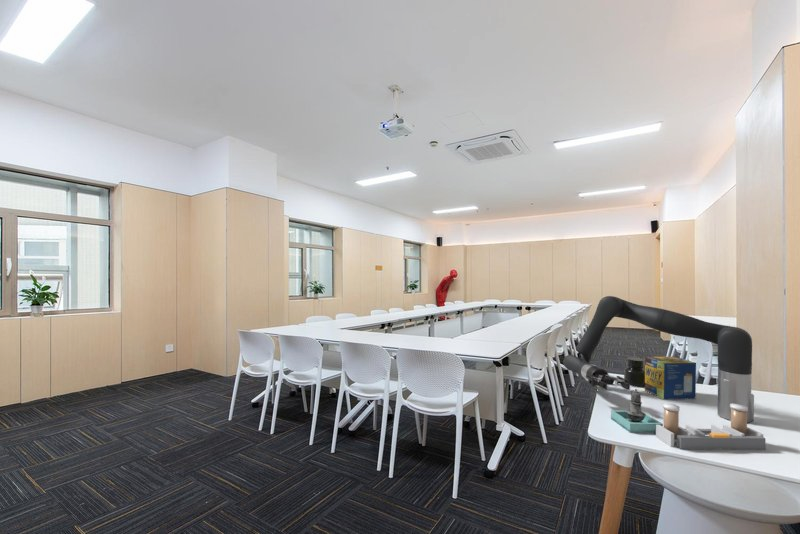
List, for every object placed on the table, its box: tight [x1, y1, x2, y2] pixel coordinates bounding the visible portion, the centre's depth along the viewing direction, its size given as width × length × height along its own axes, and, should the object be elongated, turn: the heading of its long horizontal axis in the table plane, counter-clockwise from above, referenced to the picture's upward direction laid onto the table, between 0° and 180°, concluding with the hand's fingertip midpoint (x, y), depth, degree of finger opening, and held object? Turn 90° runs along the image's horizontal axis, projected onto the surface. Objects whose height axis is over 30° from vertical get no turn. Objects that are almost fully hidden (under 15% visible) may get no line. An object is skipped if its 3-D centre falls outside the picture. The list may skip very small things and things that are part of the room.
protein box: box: [644, 356, 697, 400], centre depth 160 cm, size 10×15×16 cm
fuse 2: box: [730, 404, 748, 436], centre depth 118 cm, size 4×4×11 cm
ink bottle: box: [623, 356, 645, 388], centre depth 174 cm, size 10×9×12 cm
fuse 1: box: [662, 402, 681, 444], centre depth 118 cm, size 4×4×11 cm
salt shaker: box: [625, 388, 647, 423], centre depth 128 cm, size 6×6×12 cm
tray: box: [610, 410, 664, 434], centre depth 128 cm, size 11×11×3 cm
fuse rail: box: [654, 424, 766, 451], centre depth 118 cm, size 29×12×4 cm, turn 90°
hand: (617, 387), depth 139 cm, fingers open, 8 cm apart
